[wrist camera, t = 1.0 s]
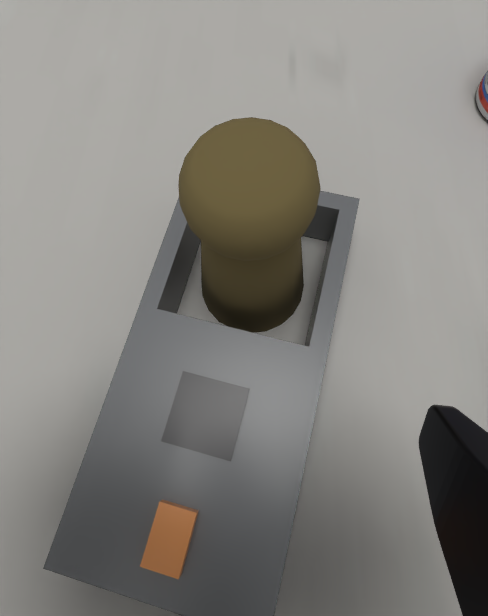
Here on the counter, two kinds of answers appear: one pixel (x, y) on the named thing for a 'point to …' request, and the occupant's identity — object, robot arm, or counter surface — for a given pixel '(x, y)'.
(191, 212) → the cork
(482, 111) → the pill bottle
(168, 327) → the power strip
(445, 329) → the counter surface
